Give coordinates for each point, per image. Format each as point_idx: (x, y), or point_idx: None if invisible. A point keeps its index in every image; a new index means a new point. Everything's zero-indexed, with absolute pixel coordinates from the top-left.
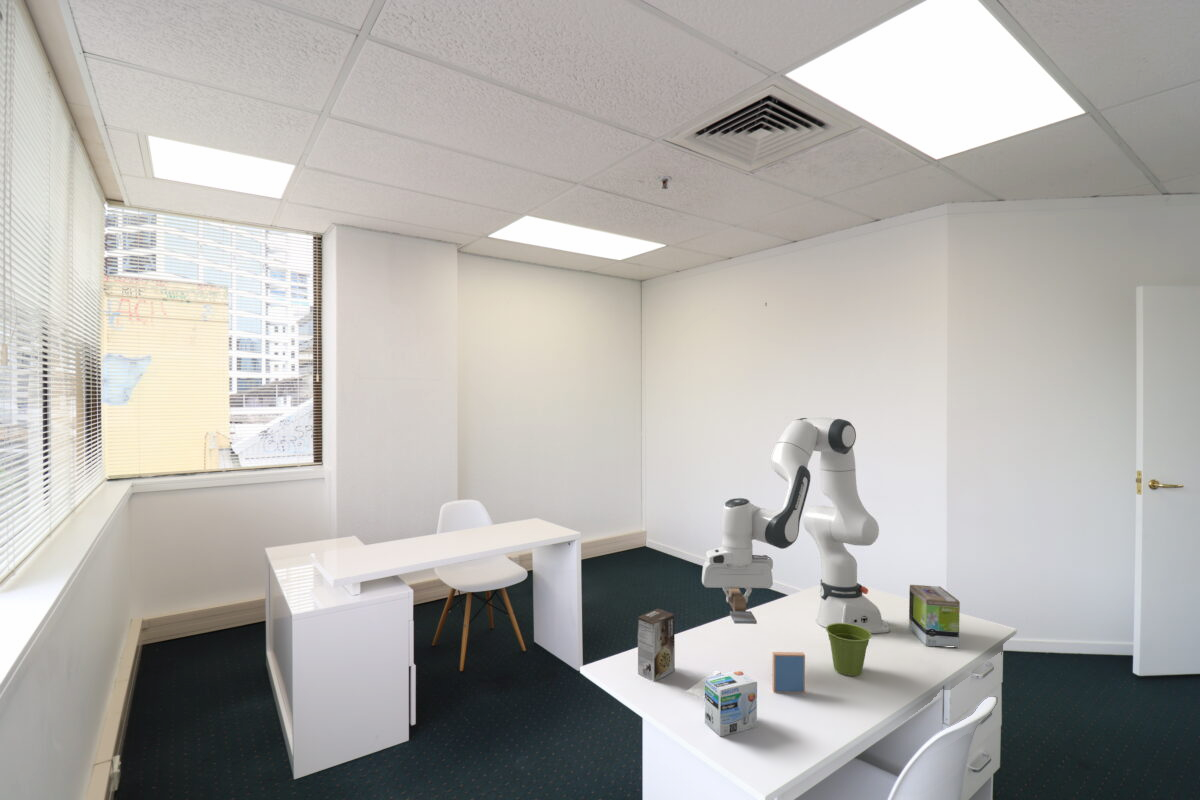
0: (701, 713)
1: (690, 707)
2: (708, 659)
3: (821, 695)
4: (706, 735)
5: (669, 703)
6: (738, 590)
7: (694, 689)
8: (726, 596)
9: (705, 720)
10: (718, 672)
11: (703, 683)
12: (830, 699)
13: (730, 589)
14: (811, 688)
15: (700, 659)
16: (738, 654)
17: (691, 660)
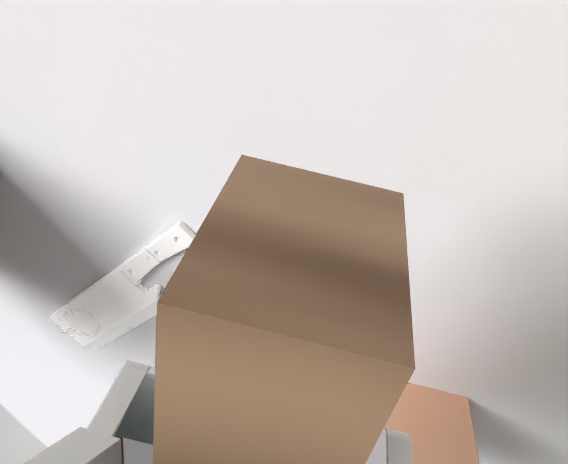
0: (93, 401)
1: (64, 375)
2: (172, 93)
3: (508, 431)
4: None
5: (4, 347)
6: (332, 455)
7: (75, 323)
8: (99, 416)
9: None
10: (186, 243)
11: (111, 296)
12: (518, 451)
13: (178, 377)
14: (510, 397)
15: (128, 84)
16: (371, 62)
17: (79, 87)
